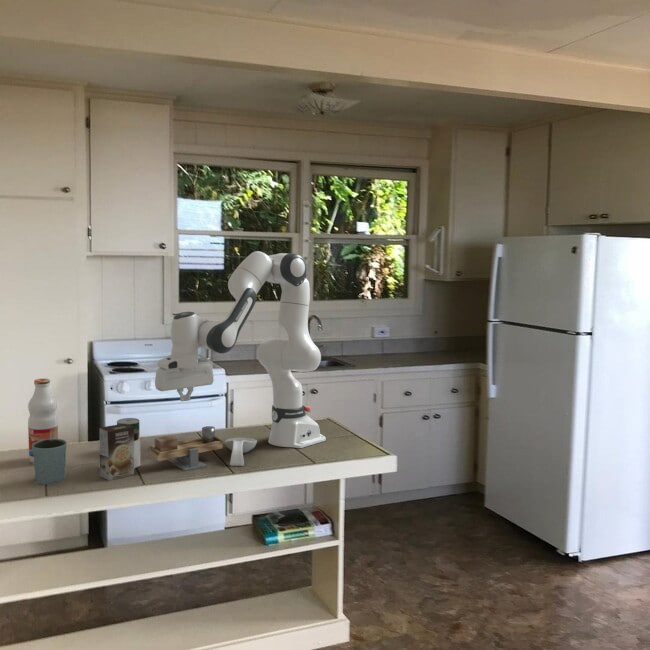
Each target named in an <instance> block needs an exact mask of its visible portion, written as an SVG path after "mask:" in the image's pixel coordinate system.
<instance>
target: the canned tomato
mask: <svg viewBox="0 0 650 650" xmlns="http://www.w3.org/2000/svg"><path fill="white" fill-rule="evenodd" d="M118 424H128V425H131V426H133V427H134V429H137V430H138V431H139V439H140V440H141V438H140V430H141V429H140V419H139V418H137V417H125V418H120V419H117V420H116V425H118Z"/></svg>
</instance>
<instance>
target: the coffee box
mask: <svg viewBox="0 0 650 650" xmlns="http://www.w3.org/2000/svg"><path fill="white" fill-rule="evenodd" d="M133 475H135V468H134V427H133V426H131V425H128V424H118V425H117V424H113V425H112V424H111V425H107V426H101V427H99V476H100V477H101V478H103V479H105V480H107V481H113V480H117V479H121V478H126V477H129V476H133Z"/></svg>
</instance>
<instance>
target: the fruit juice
mask: <svg viewBox="0 0 650 650" xmlns="http://www.w3.org/2000/svg"><path fill="white" fill-rule="evenodd" d="M33 381H34V382H33V383H34V384H33V385H34V392H33V395H32V397H31V398H30V399H29V402H28V404H27V408H28V412H29V413H28V414H29V417H28V418H27V419H28V421H27V422H28V423H27V429H28V431H27V432H28V433H27V434H28V459H29V462H30V463H32V464H34V457H33V450H32V444H33V443H35V442H37V441H40V440H44V439H59V421H58V415H57V412H56V411H57V409H58V402H57V400H56V399H55V398H54V396H53V395H52V392H51V389H50V385H51V384H50V382H51V380H50V379H49V378H36V379H34V380H33Z"/></svg>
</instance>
